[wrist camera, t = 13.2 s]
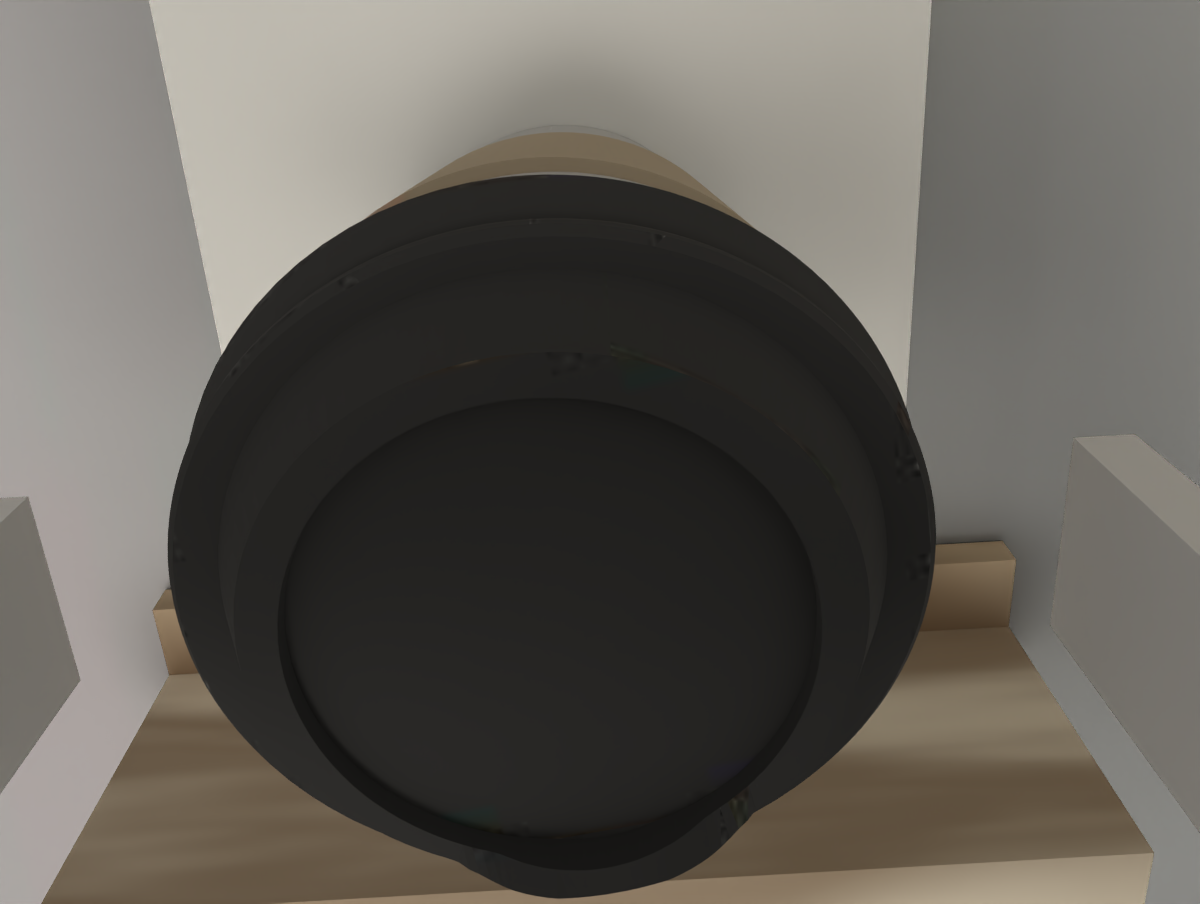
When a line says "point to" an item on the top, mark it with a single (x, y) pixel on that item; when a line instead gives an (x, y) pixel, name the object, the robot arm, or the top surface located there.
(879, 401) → the coffee cup
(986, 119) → the top surface
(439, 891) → the wooden screen
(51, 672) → the robot arm
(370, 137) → the display pad
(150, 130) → the top surface
